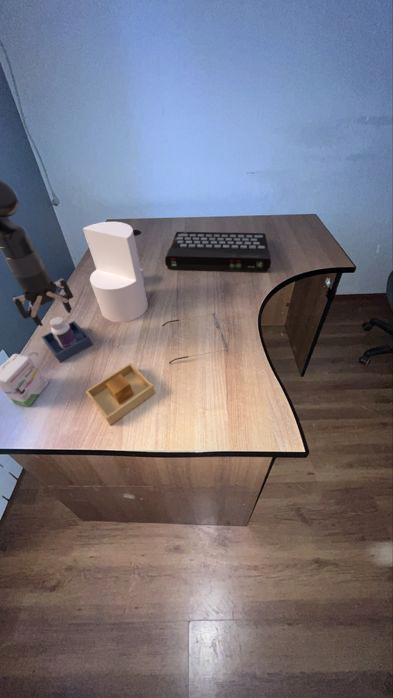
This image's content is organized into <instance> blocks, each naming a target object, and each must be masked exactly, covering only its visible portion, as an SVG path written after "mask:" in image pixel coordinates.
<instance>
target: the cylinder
mask: <svg viewBox="0 0 393 698" xmlns="http://www.w3.org/2000/svg"><path fill="white" fill-rule="evenodd" d="M82 231H83V234H84V236H85V240H86V242H87V246H88V249H89V251H90V255H91V257H92V260H93V263H94V267H95V270H94V271H93V272H92V273H91V275H90V277H89V282H90V285H91V287H92V291H93V293H94V295H95V298H96V301H97V303H98V306H99V309H100V312H101V315H102V316H103V318H104V319H106V320H107V321H110V322H113V323H127V322H131V321H135V320H136V319H138V318H140V317H141V316H143V315H144V314H145V312H147V310H148V306H149V304H148V299H147V292H146V288H145V283H143V278H142V273H141V269H142V268H141V264H140V260H139V259H140V258H139V255H138V249H137V243H136V240H135V234H134V229H133V227H132V226H131V225H129V224H128V223H125V222H122V221H101V222H96V223H93V224H90V225H87V226H85V227H83V228H82Z"/></svg>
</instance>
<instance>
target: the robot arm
mask: <svg viewBox="0 0 393 698" xmlns="http://www.w3.org/2000/svg"><path fill="white" fill-rule="evenodd" d="M19 209H20V199H19V196H18V194H17V192H16V191H15V189H14V188H13V187H12V186H11V185H10V184H8V183H7V182H6V181H4V180H1V179H0V252H1V254H2V256H3V258H4V260H5V262H6V264H7V266H8V268H9V270H10V272H11V274H12V275H13V277H14V278H15V280H16V282H17V283H18V285H19V287H20V289H21V291H22V293H23V294H21V295H18V296H16V295H13V296H12V297H11V299H12V301H13V303H14V304H15V306H16V309H17V310H18V311H19V314H20V315H21V316H22V319H26V320H27V319H28V318H31V319H32V321H33V322H34V324H35V325H36V326H40V327H42V326H44V324H43V323H42V321H41V319H40V318H39V316H38V315H37V312H38V311H39V309H40V306H43V305H46V304H47V303H51V302H53V301H54V299H55V300H57V301H60V302H61V303H62V305H63V307H64V310H65V311H66V312H67V313H68V314H70V313H71V312H72V310H73V309H72V308H73V307H72V306H71V304H70V302H69V300H71V299H73V298H74V294H73V293H72V291H71V289H70V286H69V285H68V282H67V281H66V280H65V279H64V278H63V277H58V279H57V280H56V281H53V279H52V278H51V276H50V274H49V272H48V270H47V268H46V265H45V262H44V261H43V259H42V257H41V255H40V253H39V252H38V251H37V249H36V247H35V245H34V243H33V241H32V239H31V237H30V235H29V233H28V231H27V230H26V228H25V227H24V226H23V225H21V224H20V223H17V222H16V221H14V220H12V219H11V218H10V217H12V216H14V215H15V214H16V213H17V212H18V211H19ZM58 287H59V288H60V289H62V290H63V292H64V293H65V294H64V295H63V294H61V293H60V292H57V289H58ZM25 300H27V301H28V302H29V303H28V310H26V309H25V307H24V304H25Z"/></svg>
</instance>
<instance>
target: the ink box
mask: <svg viewBox="0 0 393 698" xmlns="http://www.w3.org/2000/svg"><path fill="white" fill-rule="evenodd" d="M48 385H49V381H48V380H47V379H46V377H45V376H44V375H43V374H42V372H41V370H40V369H39V368H38V367H37V365H36V364H35V362H34V361H33V360H32V358H31V357H30V356H28V355H27V356H26V355H23V354H19V353H13V354H12V355H11V356H10V357H9V358H8V359H7V360H5V361H4V362H3V363H2V365H0V390H1V392H3V393H4V394H5V395H6V396H7V397H8V398H9V399H10V400H11V401H12V402H13V404H15V405H18V406H22V407H26V408H30V407H31V405H32V404H33V403H34V402H35V401H36V400H37V398H38V397H39V396H40V394H41V393H42V392H43V391H44V389H46V387H47V386H48Z"/></svg>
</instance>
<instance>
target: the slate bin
mask: <svg viewBox="0 0 393 698" xmlns="http://www.w3.org/2000/svg"><path fill="white" fill-rule="evenodd" d="M68 324H69V326H70V328H71V330H72V332H73V334H74V336H75V337H76V340H77V343H75V344H73V345H71V346H69V347H68V348H66V349H63V348H61V347H60V345H59V344H58V342H57V340H56V339H55V337H54V335H53V334H52V332H51V331H50V332H48V333H46V334H44V335H42V336H41V338H42V340H43V342H44V344H45V345H46V346H47V347H48V349H49V350H50V352H51V353H52V355H54V357H55V358H56V359H57V361H58V362H59V363H63V362H64V361H66V360H67V359H70V358H72V357H73V356H75V355H77V354H79V353H81V352H83V351H84V350H86V349H88V348H89V347H92V346H93V345H94V344H93V342H92V339H91V338H90V337H91V336H90V335H88V334H87V333H86V332H85V331H84V329H83V328H81V326H80V325H79V324H78V323H77V322H76V321H75V320H72V321H70V322H68Z"/></svg>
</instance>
